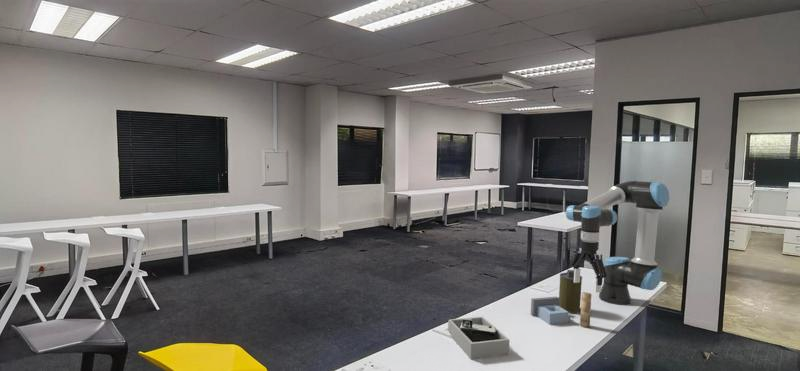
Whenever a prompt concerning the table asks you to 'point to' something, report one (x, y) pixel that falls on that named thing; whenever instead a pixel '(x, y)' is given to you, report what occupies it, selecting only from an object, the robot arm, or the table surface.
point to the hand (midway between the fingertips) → (586, 287)
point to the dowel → (585, 310)
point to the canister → (569, 292)
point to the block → (552, 314)
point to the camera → (478, 331)
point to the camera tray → (478, 348)
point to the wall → (542, 303)
